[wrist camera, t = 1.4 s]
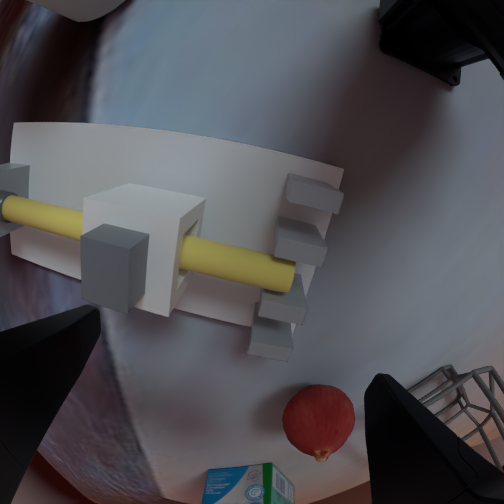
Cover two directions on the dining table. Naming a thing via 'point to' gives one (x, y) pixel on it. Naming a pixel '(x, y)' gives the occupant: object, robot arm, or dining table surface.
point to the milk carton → (248, 486)
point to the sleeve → (137, 247)
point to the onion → (319, 420)
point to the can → (80, 8)
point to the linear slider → (213, 222)
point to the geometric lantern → (459, 384)
